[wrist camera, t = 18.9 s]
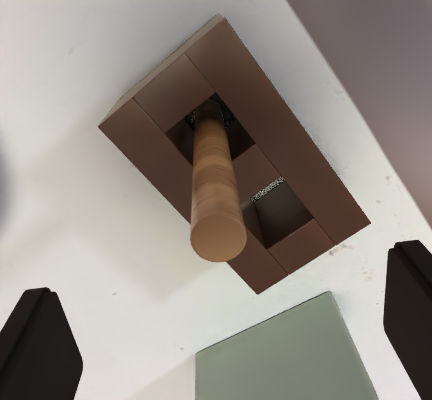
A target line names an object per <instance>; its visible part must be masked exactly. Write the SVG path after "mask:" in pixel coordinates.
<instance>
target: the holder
mask: <svg viewBox="0 0 432 400" xmlns="http://www.w3.org/2000/svg"><path fill="white" fill-rule="evenodd" d="M215 92H216V93H217V94H218V95H219V97H220V98H221V99H222V101H223V102H224V103H225V104H226V106H227V107H228V108H229V109H230V111H231V112H232V113H233V115H234V116H235V117H236V118H237V119H236V120H234V121H233V122H232V123H231V124H229V125H228V126H227V127H225V130H226V135H227V140H228V145H229V150H230V155H231V160H232V165H233V170H234V175H235V180H236V185H237V190H238V195H239V200H240V205H241V210H242V215H243V220H244V225H245V230H246V235H247V239H246V244H245V246H244V248H243V250H242V251H241V252H240V253H239V254H238V255H237V256H236V257H235V258H233V259H231V260H228V261H226V262H227V263H228V264H229V265H230V266H231V268H232V269H233V270H234V271H235V272H236V273H237V274H238V275H239V276H240V277H241V278H242V279H243V280H244V281H245V282H246V283H247V284H248V285H249V286H250V288H251V289H252V290H253V291H254V292H255V293H256V294H257V295H258V294H260V293H261V292H263V291H265V290H266V289H268V288H269V287H271V286H272V285H274V284H276V283H277V282H279V281H280V280H282V279H283V278H285V277H287V276H288V274H289V275H290V274H291V273H293V272H295V271H296V270H298V269H299V268H301V267H303V266H304V265H306V264H307V263H309V262H310V261H312V260H314V259H315V258H317V257H318V256H320V255H321V254H323V253H325V252H326V251H328V250H329V249H331V248H333V247H334V246H335V245H338V244H339V243H341V242H342V241H344V240H346V239H347V238H349V237H350V236H352V235H353V234H355V233H357V232H358V231H360V230H361V229H363V228H364V227H366V226H368V225H369V224H371V222H370V220H369V219H368V218H367V216H366V215H365V213H364V212H363V211H362V209H361V208H360V206H359V205H358V204H357V202H356V201H355V199H354V198H353V197H352V195H351V194H350V192H349V191H348V190H347V188H346V187H345V185H344V184H343V183H342V181H341V180H340V178H339V177H338V176H337V174H336V173H335V171H334V170H333V169H332V167H331V166H330V164H329V163H328V162H327V160H326V159H325V157H324V156H323V155H322V153H321V152H320V150H319V149H318V148H317V146H316V145H315V143H314V142H313V141H312V139H311V138H310V136H309V135H308V134H307V132H306V131H305V129H304V128H303V127H302V125H301V124H300V122H299V121H298V120H297V118H296V117H295V115H294V114H293V113H292V111H291V110H290V108H289V107H288V106H287V104H286V103H285V101H284V100H283V99H282V97H281V96H280V94H279V93H278V92H277V90H276V89H275V87H274V86H273V85H272V83H271V82H270V80H269V79H268V78H267V76H266V75H265V73H264V72H263V71H262V69H261V68H260V66H259V65H258V64H257V62H256V61H255V59H254V58H253V57H252V55H251V54H250V52H249V51H248V50H247V48H246V47H245V45H244V44H243V42H242V41H241V40H240V38H239V37H238V35H237V34H236V33H235V31H234V30H233V28H232V27H231V26H230V24H229V23H228V21H227V20H226V19H225V18H224V17H223V16H222V15H220V14H217V15H216V16H215V17H214V18H213V19H211V20H210V21H209V22H208V23H207V24H206V25H204V26H203V27H202V28H201V29H200V30H199V31H198V32H196V33H195V34H194V35H193V36H192V37H191V38H189V39H188V40H187V41H186V42H185V43H184V44H183V45H181V46H180V47H179V48H178V49H177V50H176V51H174V52H173V53H172V54H171V55H170V56H169V57H168V58H166V59H165V60H164V61H163V62H162V63H161V64H159V65H158V66H157V67H156V68H155V69H154V70H152V71H151V72H150V73H149V74H148V75H147V76H146V77H144V78H143V79H142V80H141V81H140V82H139V83H137V84H136V85H135V86H134V87H133V88H132V89H131V90H129V91H128V92H127V93H126V94H125V95H124V96H122V97H121V98H120V99H119V100H118V102H117V103H116V104H115V105H114V107H113V108H112V109H111V111H110V112H109V113H108V114H107V116H106V117H105V118H104V119H103V121H102V122H101V123H100V124H99V126H98V127H99V129H100V130H101V131H102V132H103V133H104V134H105V135H106V136H107V137H108V138H109V139H110V140H111V141H112V142H113V143H114V144H115V145H116V147H117V148H118V149H119V150H120V151H121V152H122V153H123V154H124V155H125V156H126V157H127V158H128V159H129V160H130V161H131V162H132V163H133V164H134V165H135V166H136V168H137V169H138V170H139V171H140V172H141V173H142V174H143V175H144V176H145V177H146V178H147V179H148V180H149V181H150V182H151V183H152V184H153V185H154V186H155V188H156V189H157V190H158V191H159V192H160V193H161V194H162V195H163V196H164V197H165V198H166V199H167V200H168V201H169V202H170V203H171V204H172V205H173V206H174V208H175V209H176V210H177V211H178V212H179V213H180V214H181V215H182V216H183V217H184V218H185V219H186V220H187V221H188V222H189V223H190V224H191V208H192V181H193V154H194V131H193V130H192V129H191V127H190V126H189V125H188V124H187V123H186V121H185V120H184V119H183V118H184V117H186V116H187V115H188V114H189V113H191V112H192V111H193V110H194V109H196V108H197V107H198V106H199V105H200V104H202V103H203V102H204V101H205V100H207V99H208V98H209V97H210V96H212V95H213V94H214V93H215ZM281 176H282V177H283V178H284V180H285V181H284V182H283V183H281V184H280V185H278V186H277V187H276V188H274V189H273V190H271V191H270V192H268V193H267V194H266V195H264V196H263V197H261V198H260V199H258V200H257V201H256V202H255V203H254V202H253V201H252V200H251V199H250V198H251V197H252V196H254V195H255V194H257V193H258V192H259V191H261V190H262V189H264V188H265V187H266V186H268V185H269V184H271V183H272V182H273V181H275V180H276V179H278V178H279V177H281Z"/></svg>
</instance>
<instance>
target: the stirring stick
mask: <svg viewBox="0 0 432 400" xmlns="http://www.w3.org/2000/svg"><path fill="white" fill-rule="evenodd" d="M246 239H247V235H246V230H245V225H244V220H243V215H242V210H241V205H240V200H239V195H238V190H237V185H236V180H235V175H234V170H233V165H232V160H231V155H230V150H229V145H228V140H227V135H226V130H225V125H224V120H223V115H222V110H221V107H220V105H219V104H218V103H217V102H216V101H214V100H210V99H207V100H205V101H204V102H203V103H202V104H200V105H199V106H198V107H197V108H196V109H195V127H194V154H193V181H192V208H191V234H190V240H191V245H192V248H193V249H194V251H195V252H196V253H197V254H198V255H199V256H200V257H201V258H203V259H205V260H208V261H211V262H225V261H228V260H231V259H233V258H235V257H236V256H237V255H238V254H239V253H240V252H241V251H242V250H243V248H244V246H245V244H246Z"/></svg>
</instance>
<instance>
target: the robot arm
mask: <svg viewBox="0 0 432 400" xmlns="http://www.w3.org/2000/svg"><path fill="white" fill-rule="evenodd" d="M383 325H384V330H385V333H386V335H387V337H388V339H389V341H390V343H391V344H392V346H393V348H394V350H395V352H396V354H397V355H398V357H399V359H400V361H401V363H402V365H403V366H404V368H405V370H406V372H407V374H408V376H409V377H410V379H411V381H412V383H413V385H414V387H415V389H416V390H417V392H418V394H419V396H420V398H421V400H432V254H431V253H430V252H429V251H428V250H427V248H426V247H425V246H424V245H423V244H422V243H421V242H420V241H419V240H412V241H404V242H397V243H395V245H394V248H391V249H389V251H388V260H387V275H386V289H385V303H384V317H383ZM82 370H83V361H82V357H81V355H80V352H79V349H78V347H77V344H76V342H75V339H74V336H73V334H72V331H71V329H70V326H69V324H68V321H67V318H66V316H65V313H64V311H63V308H62V305H61V303H60V300H59V298H58V295H57V293H56V292H51V291H50V289H49V288H47V287H44V288H37V289H29V290H26V291H24V293H23V294H22V296H21V298H20V299H19V301H18V303H17V304H16V306H15V308H14V310H13V311H12V313H11V315H10V316H9V318H8V320H7V322H6V323H5V325H4V327H3V328H2V330H1V332H0V400H74V397H75V394H76V391H77V387H78V384H79V381H80V378H81V374H82Z"/></svg>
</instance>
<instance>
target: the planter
mask: <svg viewBox="0 0 432 400" xmlns="http://www.w3.org/2000/svg"><path fill="white" fill-rule="evenodd" d="M195 400H379V399H378V396H377V394H376V391H375V389H374V387H373V384H372V382H371V380H370V378H369V375H368V373H367V371H366V369H365V366H364V364H363V362H362V360H361V358H360V355H359V353H358V351H357V349H356V346H355V344H354V342H353V340H352V337H351V335H350V333H349V331H348V329H347V326H346V324H345V322H344V320H343V317H342V315H341V313H340V311H339V308H338V306H337V304H336V302H335V300H334V297H333V295H332V293H331V292H326V293H324V294H322V295H320V296H318V297H316V298H313V299H311V300H309V301H307V302H305V303H303V304H301V305H299V306H296V307H294V308H292V309H290V310H288V311H286V312H284V313H281V314H279V315H277V316H275V317H273V318H271V319H269V320H266V321H264V322H262V323H260V324H258V325H256V326H254V327H252V328H249V329H247V330H245V331H243V332H241V333H239V334H237V335H235V336H232V337H230V338H228V339H226V340H224V341H222V342H220V343H217V344H215V345H213V346H211V347H209V348H207V349H205V350H203V351H201V352H198V353H197V354H196V382H195Z"/></svg>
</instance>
